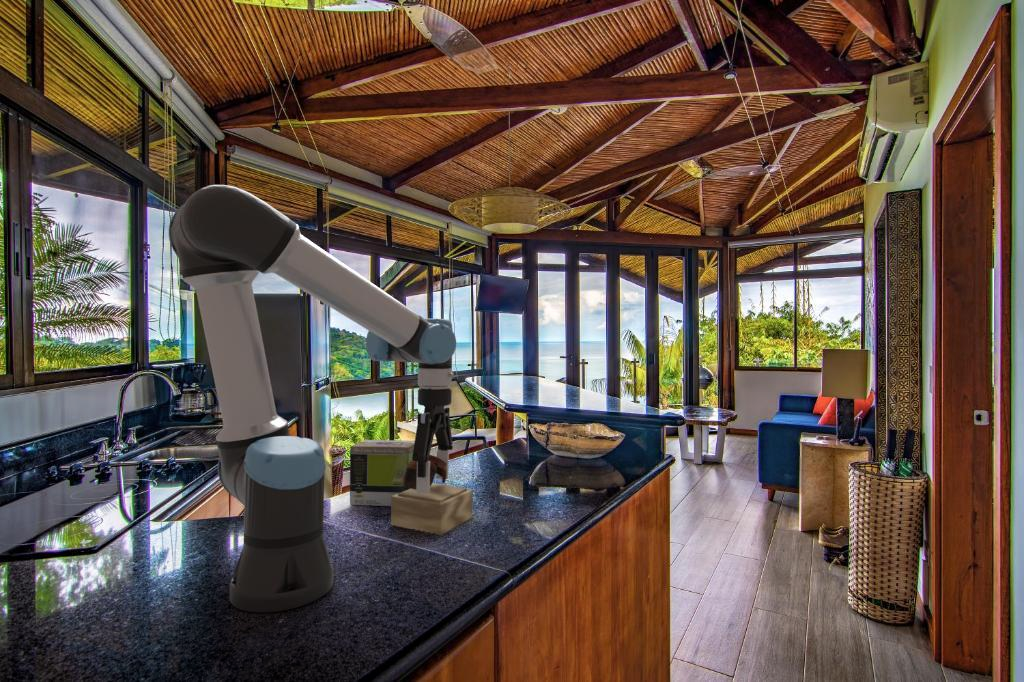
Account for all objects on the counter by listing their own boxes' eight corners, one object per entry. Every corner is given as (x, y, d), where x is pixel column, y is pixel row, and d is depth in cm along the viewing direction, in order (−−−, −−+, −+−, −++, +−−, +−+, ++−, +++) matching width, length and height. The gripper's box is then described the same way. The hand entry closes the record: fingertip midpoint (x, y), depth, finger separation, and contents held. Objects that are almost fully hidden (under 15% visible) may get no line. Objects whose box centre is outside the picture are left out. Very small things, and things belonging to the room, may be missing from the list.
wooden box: (440, 536, 108) (441, 502, 108) (390, 526, 114) (391, 493, 114) (472, 518, 120) (472, 487, 120) (425, 509, 125) (426, 480, 125)
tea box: (419, 496, 135) (420, 439, 135) (408, 508, 125) (409, 447, 125) (363, 494, 137) (364, 438, 137) (348, 505, 127) (349, 445, 127)
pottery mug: (394, 485, 119) (408, 451, 122) (431, 500, 121) (444, 466, 125) (408, 484, 108) (423, 447, 112) (447, 500, 111) (461, 464, 114)
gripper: (431, 392, 105) (429, 500, 104) (466, 384, 128) (465, 473, 127) (396, 390, 106) (394, 498, 106) (437, 383, 129) (436, 471, 129)
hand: (433, 484), depth 117 cm, fingers closed on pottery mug, 11 cm apart
